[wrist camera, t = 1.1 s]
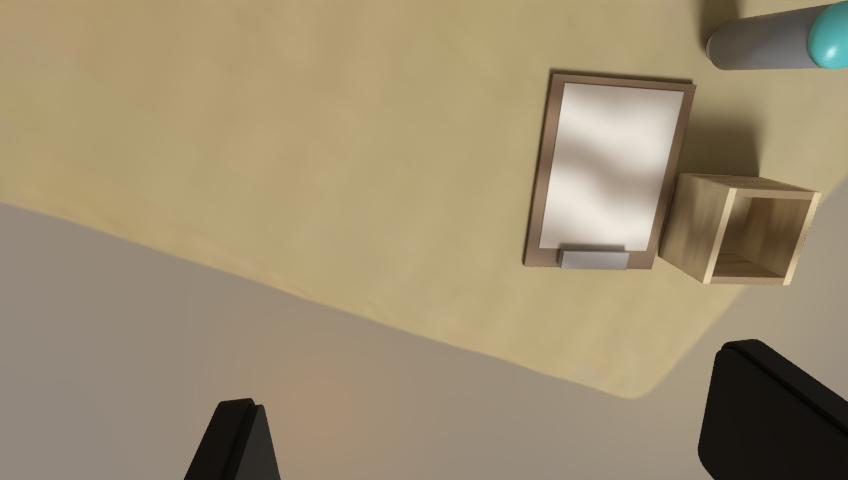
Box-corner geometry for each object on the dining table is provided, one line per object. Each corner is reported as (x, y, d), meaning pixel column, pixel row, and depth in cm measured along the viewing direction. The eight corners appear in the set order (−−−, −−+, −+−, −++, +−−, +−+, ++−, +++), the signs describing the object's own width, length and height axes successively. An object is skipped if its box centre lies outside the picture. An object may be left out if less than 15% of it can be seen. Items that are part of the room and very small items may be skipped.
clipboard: (551, 73, 36) (557, 73, 35) (693, 84, 38) (703, 84, 36) (523, 264, 41) (527, 270, 40) (648, 267, 43) (656, 272, 42)
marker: (705, 18, 36) (829, -4, 26) (748, 22, 36) (886, 2, 27) (692, 69, 37) (807, 66, 27) (734, 72, 38) (862, 70, 28)
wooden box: (679, 172, 40) (729, 188, 34) (759, 176, 41) (821, 192, 35) (658, 256, 42) (702, 283, 37) (734, 258, 43) (789, 285, 38)
